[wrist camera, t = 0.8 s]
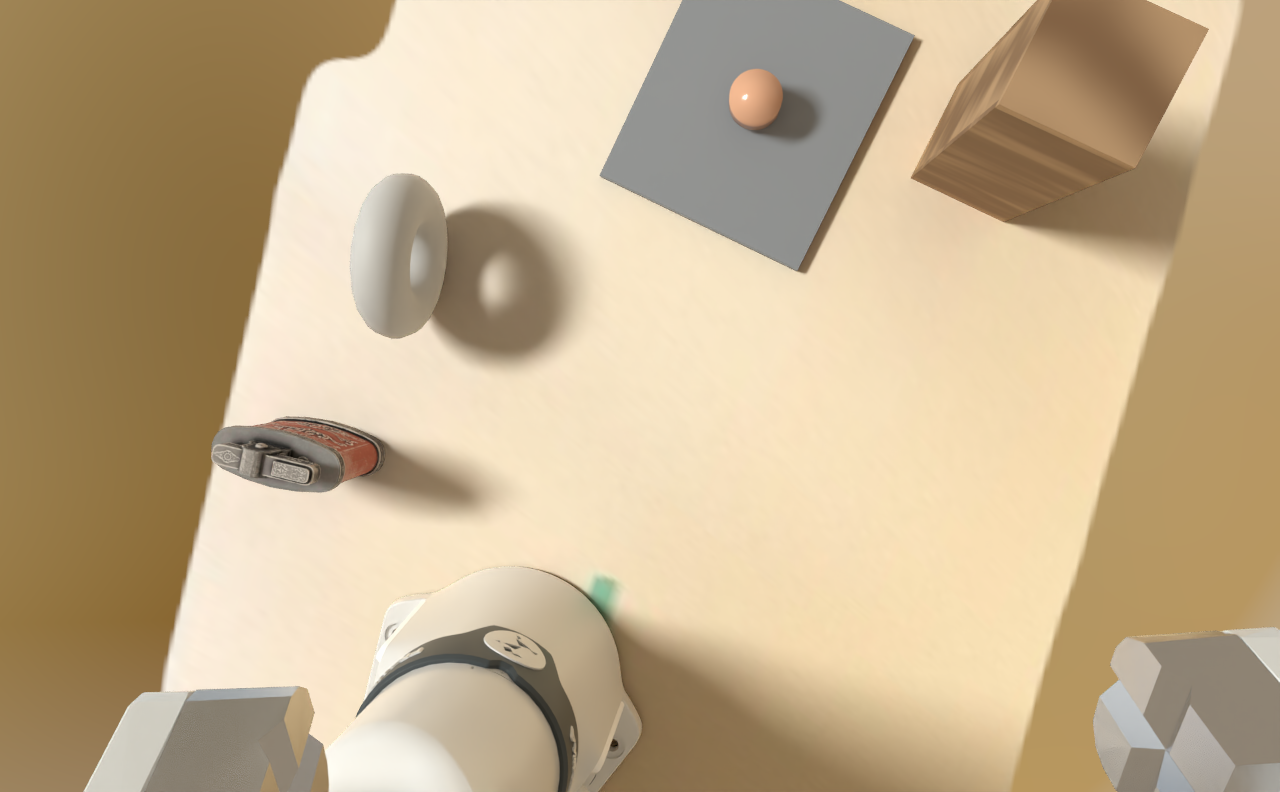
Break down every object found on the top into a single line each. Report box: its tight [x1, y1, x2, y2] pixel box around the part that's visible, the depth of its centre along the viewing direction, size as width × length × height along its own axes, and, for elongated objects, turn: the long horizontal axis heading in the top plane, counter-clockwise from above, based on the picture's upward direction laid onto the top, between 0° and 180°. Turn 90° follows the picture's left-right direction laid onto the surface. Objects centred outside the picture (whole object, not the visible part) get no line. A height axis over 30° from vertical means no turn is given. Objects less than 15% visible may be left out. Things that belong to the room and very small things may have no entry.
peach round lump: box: [729, 69, 783, 130], centre depth 58 cm, size 3×3×3 cm
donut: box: [350, 174, 448, 338], centre depth 57 cm, size 10×3×10 cm, turn 172°
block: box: [911, 0, 1209, 222], centre depth 49 cm, size 6×6×19 cm
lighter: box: [211, 417, 385, 492], centre depth 58 cm, size 8×3×10 cm, turn 77°
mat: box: [600, 0, 915, 271], centre depth 59 cm, size 16×14×1 cm
